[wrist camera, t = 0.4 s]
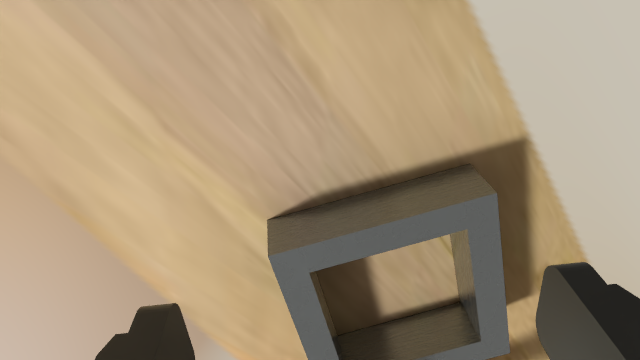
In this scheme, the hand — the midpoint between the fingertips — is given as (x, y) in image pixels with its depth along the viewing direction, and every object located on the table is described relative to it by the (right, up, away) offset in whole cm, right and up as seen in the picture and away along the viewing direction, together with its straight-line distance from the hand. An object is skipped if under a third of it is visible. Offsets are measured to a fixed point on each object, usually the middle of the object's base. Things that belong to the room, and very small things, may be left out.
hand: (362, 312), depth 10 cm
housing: (+4, -4, +24) cm, 25 cm away
